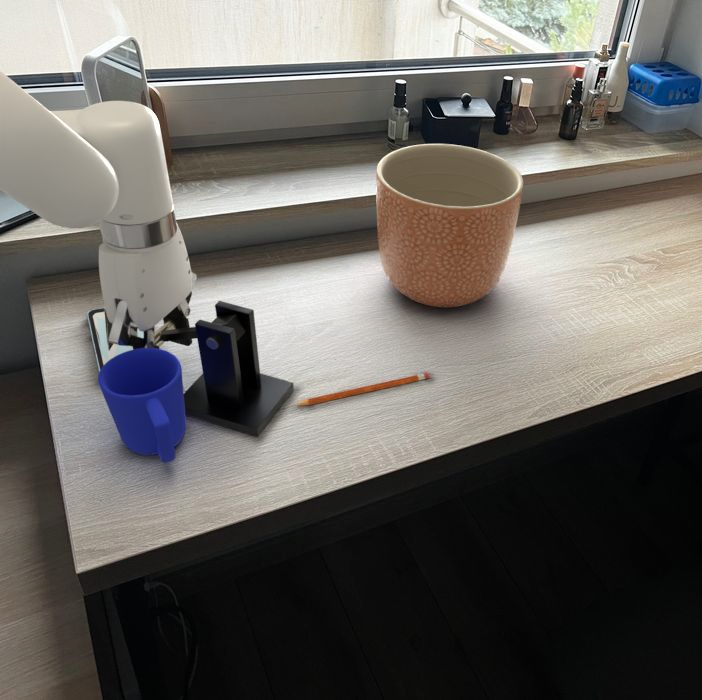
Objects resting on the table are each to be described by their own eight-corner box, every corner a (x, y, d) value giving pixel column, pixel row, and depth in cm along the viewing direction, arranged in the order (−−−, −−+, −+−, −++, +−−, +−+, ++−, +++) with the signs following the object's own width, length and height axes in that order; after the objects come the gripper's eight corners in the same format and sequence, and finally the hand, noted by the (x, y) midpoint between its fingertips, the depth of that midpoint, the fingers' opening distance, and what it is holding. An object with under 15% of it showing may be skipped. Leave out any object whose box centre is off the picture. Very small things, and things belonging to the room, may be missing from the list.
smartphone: (99, 380, 88) (85, 310, 98) (101, 385, 89) (86, 315, 99) (163, 365, 91) (143, 299, 101) (164, 371, 92) (144, 305, 102)
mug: (136, 498, 76) (117, 431, 70) (109, 426, 84) (89, 360, 77) (214, 470, 80) (202, 404, 74) (181, 404, 88) (168, 339, 81)
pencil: (429, 379, 96) (429, 375, 95) (295, 409, 89) (295, 405, 89) (426, 375, 96) (427, 371, 96) (293, 405, 90) (293, 401, 89)
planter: (364, 254, 118) (366, 143, 107) (485, 248, 124) (500, 142, 112) (385, 330, 103) (390, 210, 91) (523, 320, 108) (544, 205, 97)
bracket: (174, 411, 86) (156, 326, 79) (216, 367, 93) (203, 284, 85) (257, 436, 85) (248, 352, 77) (293, 389, 92) (288, 307, 84)
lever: (147, 357, 85) (137, 340, 84) (173, 333, 89) (163, 317, 88) (228, 349, 80) (219, 331, 79) (252, 325, 84) (242, 307, 83)
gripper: (156, 184, 84) (180, 311, 95) (49, 253, 71) (91, 391, 82) (214, 198, 83) (231, 325, 94) (116, 271, 70) (149, 408, 81)
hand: (165, 354), depth 88 cm, fingers closed on lever, 5 cm apart
